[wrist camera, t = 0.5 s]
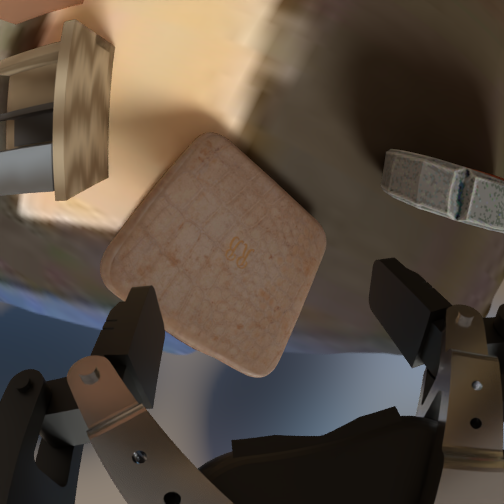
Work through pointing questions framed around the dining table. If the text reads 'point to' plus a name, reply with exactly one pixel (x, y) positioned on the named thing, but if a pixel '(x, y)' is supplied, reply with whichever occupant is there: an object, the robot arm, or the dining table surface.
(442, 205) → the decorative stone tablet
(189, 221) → the case
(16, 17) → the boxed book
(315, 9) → the dining table surface
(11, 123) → the shelf
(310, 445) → the robot arm
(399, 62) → the dining table surface
